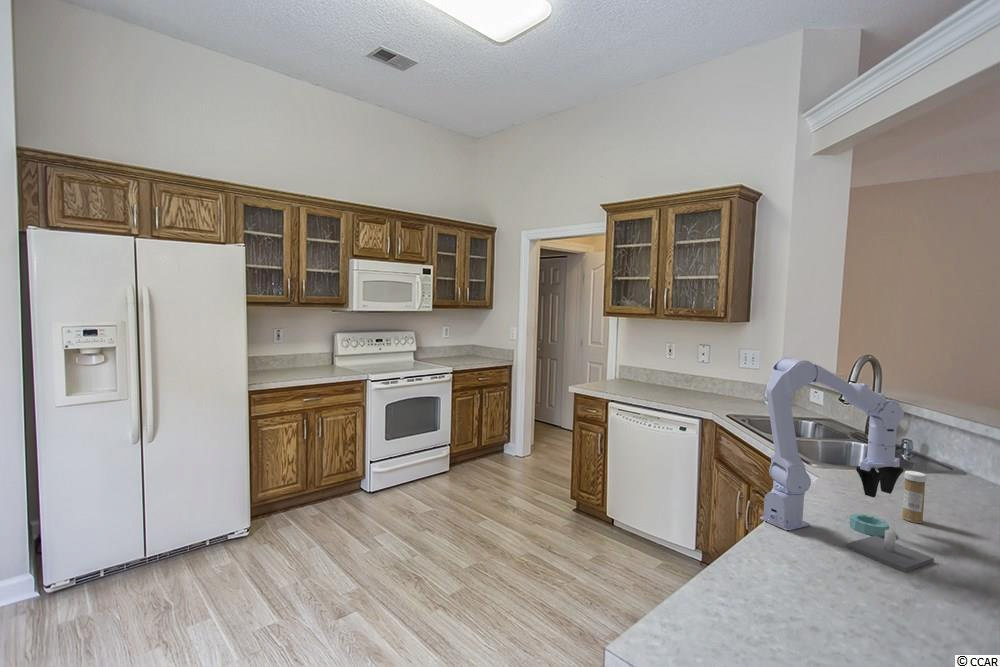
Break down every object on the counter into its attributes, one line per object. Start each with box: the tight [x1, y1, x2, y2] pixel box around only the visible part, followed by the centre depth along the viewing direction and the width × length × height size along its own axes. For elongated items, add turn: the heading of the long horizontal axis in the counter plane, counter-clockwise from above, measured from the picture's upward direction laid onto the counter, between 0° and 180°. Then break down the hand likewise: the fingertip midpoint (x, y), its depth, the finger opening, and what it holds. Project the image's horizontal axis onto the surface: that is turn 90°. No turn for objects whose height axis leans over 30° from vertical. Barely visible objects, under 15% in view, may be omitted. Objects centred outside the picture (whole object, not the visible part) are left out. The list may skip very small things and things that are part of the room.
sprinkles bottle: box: [901, 470, 927, 524], centre depth 134 cm, size 5×5×14 cm
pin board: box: [845, 529, 935, 573], centre depth 113 cm, size 12×12×6 cm
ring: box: [849, 513, 890, 538], centre depth 127 cm, size 8×8×2 cm
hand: (878, 494), depth 128 cm, fingers open, 7 cm apart
